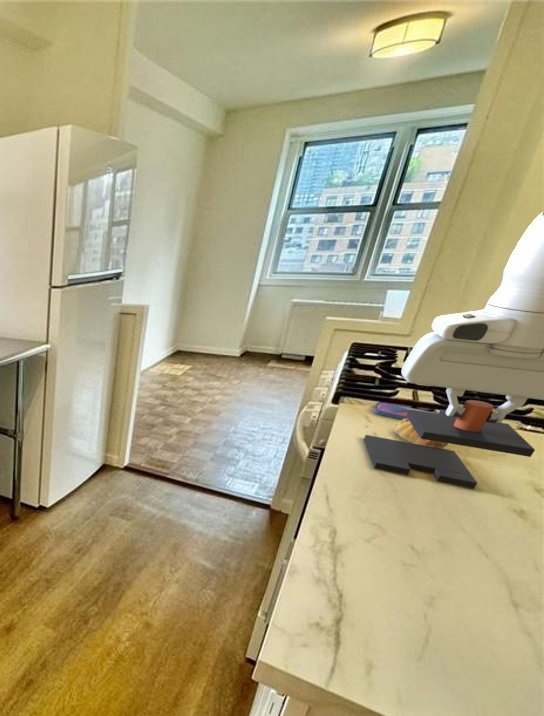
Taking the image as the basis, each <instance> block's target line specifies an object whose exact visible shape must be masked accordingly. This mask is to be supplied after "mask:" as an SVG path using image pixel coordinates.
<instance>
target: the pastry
mask: <svg viewBox="0 0 544 716" xmlns="http://www.w3.org/2000/svg"><path fill="white" fill-rule="evenodd" d="M393 427H394V432H395V435H397V434H398V436H399V437H400V438H402V439H403V440H406V441H407V442H408V443H414V444H419V445H424V446H430V447H435V448H441V449H445V447H446V446H448V445H449V443H443V442H437V441H431V440H425V439H421V438H420V437H419V435H418V433H417V432H416V430H415V429H414V427H413V425H412V424H411V422H410V421H409V419H408V418H407V419H400V421H398V422H397V423H395V424H394V426H393Z"/></svg>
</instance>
